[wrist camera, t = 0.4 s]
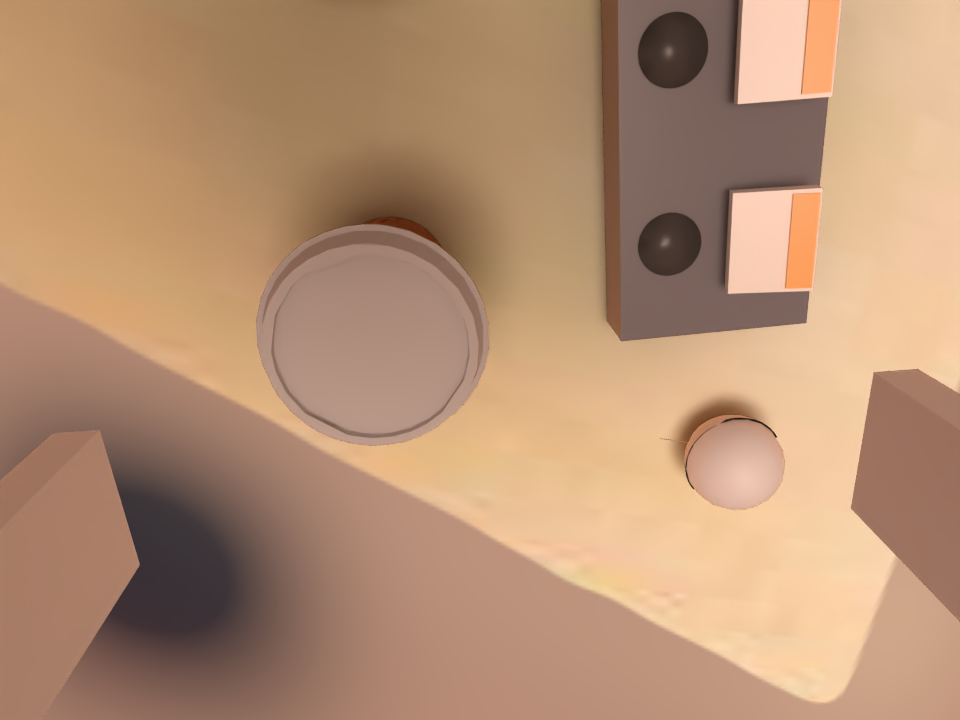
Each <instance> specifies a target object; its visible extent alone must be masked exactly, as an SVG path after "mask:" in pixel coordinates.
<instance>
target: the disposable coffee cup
mask: <svg viewBox="0 0 960 720" xmlns="http://www.w3.org/2000/svg"><path fill="white" fill-rule="evenodd" d="M256 323H257V345H258V349H259V353H260V357H261V360H262V364H263V367H264V369H265V371H266V373H267V375H268V377H269V379H270V382H271V384H272V386H273V388H274V390H275V391H276V393H277V395H278V396H279V398H280V399H281V400H282V401H283V402H284V404H285V405H286V406H287V407H288V408H289V410H290V411H291V412H292V413H293V414H294V415H296V416H297V417H298V418H299V419H300V420H302V421H303V422H304V423H305V424H306V425H308V426H310V427H311V428H313V429H315V430H316V431H318V432H320V433H322V434H324V435H327V436H329V437H331V438H333V439H336V440H340V441H344V442H347V443H351V444H359V445H368V446H377V445H389V444H395V443H401V442H405V441H408V440H411V439H414V438H417V437H419V436H421V435H423V434H425V433H427V432H429V431H431V430H433V429H434V428H436V427H438V426H439V425H440V424H441V423H442V422H444V421H445V420H446V419H448V418H449V417H450V416H452V415H453V414H454V413H456V412H457V411H458V409H459V408H460V407H461V406H462V405H463V404H464V403H465V402H466V401H467V400H468V398H469V397H470V395H471V394H472V392H473V391H474V389H475V388H476V386H477V384H478V382H479V380H480V377H481V375H482V373H483V370H484V367H485V363H486V358H487V354H488V349H489V337H488V320H487V316H486V312H485V308H484V305H483V301H482V299H481V297H480V294H479V292H478V290H477V288H476V286H475V284H474V282H473V281H472V279H471V278H470V276H469V275H468V274H467V272H466V271H465V269H464V268H463V267H462V266H461V265H460V264H459V263H458V262H457V261H456V260H455V259H454V258H453V257H452V256H451V255H450V254H449V253H447V252H446V251H445V250H444V249H442V247H441V246H440V244H439V243H438V241H437V240H436V239H435V238H434V236H433V235H432V234H431V233H430V232H428V231H427V230H426V229H425V228H424V227H422V226H420V225H418V224H416V223H414V222H412V221H409V220H406V219H403V218H395V217H385V218H377V219H373V220H370V221H367V222H365V223H364V224H362V225H351V226H344V227H341V228H337V229H334V230H330V231H327V232H324V233H322V234H320V235H318V236H316V237H314V238H311V239H309V240H307V241H306V242H304V243H303V244H302V245H300V246H299V247H298V248H296V249H295V250H293V251H292V252H291V253H290V254H289V255H288V256H287V257H286V258H285V259H284V260H283V261H282V262H281V264H280V265H279V266H278V268H277V269H276V270H275V272H274V273H273V274H272V276H271V277H270V279H269V281H268V283H267V285H266V288H265V290H264V292H263V295H262V297H261V300H260V305H259V310H258V315H257V320H256Z"/></svg>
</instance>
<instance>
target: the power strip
mask: <svg viewBox="0 0 960 720" xmlns="http://www.w3.org/2000/svg"><path fill="white" fill-rule="evenodd" d="M738 7H739V0H601V22H602V79H603V135H604V191H605V248H606V304H607V321H608V323H609V324H610V326H611V327H612V329H613V330H614V332H615V333H616V334H617V336H618V337H619V339H620V340H621V341H629V340H639V339H649V338H659V337H669V336H679V335H689V334H700V333H710V332H720V331H730V330H740V329H750V328H761V327H771V326H781V325H791V324H801V323H806V320H807V310H808V300H809V291H794V292H765V293H736V294H728V293H727V291H726V290H725V270H726V250H727V230H728V210H729V190H737V189H754V188H770V187H787V186H804V185H818V186H820V177H821V166H822V156H823V146H824V136H825V125H826V115H827V105H828V97H821V98H809V99H796V100H784V101H772V102H759V103H747V104H735V103H734V88H735V68H736V47H737V27H738Z"/></svg>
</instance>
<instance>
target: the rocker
mask: <svg viewBox="0 0 960 720" xmlns="http://www.w3.org/2000/svg"><path fill="white" fill-rule="evenodd" d="M822 193H823V188H822V187H820V186H818V185H804V186H787V187H770V188H754V189H737V190H729V210H728V230H727V250H726V270H725V290H726V291H727V293H728V294H736V293H765V292H794V291H813V283H814V273H815V263H816V253H817V243H818V233H819V223H820V213H821V203H822Z"/></svg>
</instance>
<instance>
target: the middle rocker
mask: <svg viewBox="0 0 960 720" xmlns="http://www.w3.org/2000/svg"><path fill="white" fill-rule="evenodd" d="M841 2H842V0H739V7H738V27H737V47H736V68H735V88H734V103H735V104H747V103H759V102H772V101H784V100H796V99H809V98H821V97H832V92H833V82H834V72H835V62H836V52H837V42H838V32H839V22H840V12H841Z"/></svg>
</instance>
